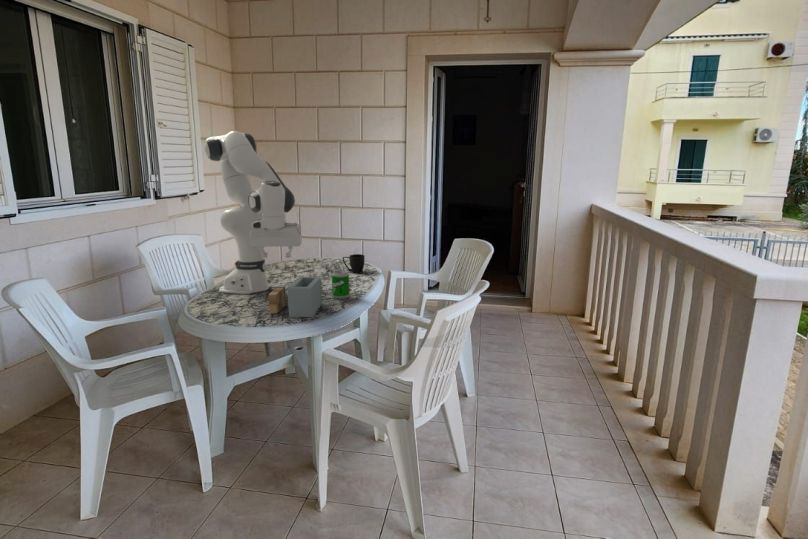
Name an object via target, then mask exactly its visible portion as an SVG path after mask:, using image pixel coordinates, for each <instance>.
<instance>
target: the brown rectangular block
mask: <svg viewBox="0 0 808 539" xmlns="http://www.w3.org/2000/svg"><path fill="white" fill-rule="evenodd" d="M286 298H287V296H286V287H285V286H276V288H274V289H273V290H272V291H271V292H270V293H269V294H268V309H269V314H270V313H278V312H279V311H280V310H283V308H285V307H286V306H287V299H286ZM280 312H281V311H280ZM280 312H279V313H280ZM279 313H278V314H279Z"/></svg>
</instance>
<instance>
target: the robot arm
mask: <svg viewBox="0 0 808 539" xmlns="http://www.w3.org/2000/svg"><path fill="white" fill-rule="evenodd" d="M256 143H257V142H256V141H255V138H254V136H252V135H251V134H250V133H244V132H241V131H237V130H232V131H230V132H227V133H226V134H223V135H221V134H220V135H217V136H210V137H208V138H206V139H205V141H204V152H205V155H206V156H207V158H208V159H209V160H211V161H213V162H220V170H221V171H220V173H221V176H222V181H223V184H224V187H225V189H226V193H227V196H228V198H229V199H230V200H231V201H232V202H234V203H237V204H238V205H239V206H240V207H233V208H229V209H227V210H224V211H223V212H222V213H221V215H220V224H221V227H222V228H223V230H225V231H226V232H228V233H229V234H230V235H231V236H232V237H233V238H234V240H235V243H236V245H237V253H238V260H236V262H235V263H234V266H235V268H234V269H233V270H232V271H230V272H229V274H227V275H226V276H225V278H224V280H223V285H222V286H220V287H219V289H218V291H219V293H227V294H240V295H249V294H253V293H260V292H264V291H266V290H268V289H270V286H269V282H268V279H267V278H268V277H267V275H266V266H267V264H266V261H265V260H266V258H269V257H268V256H269V255H268V252H265V250H264V249H265V247H266V248H269V247H288V252H286V253H285V257H286V258H291V256H292V251H293V250H294V247H300V246H301V245H302V242H303V240H302V235H301V234H302V226H301V224H299V223H297V222H287V219H286V218H287V217H286V213H289V212H290V211H291V210H292V209H293V208H294V206H295V203H296V200H295V195H294V194H293V192H292V191H291V190H290V189H289V188H288V187H287V186H286V185H285V183H284V182H283V180H282V179H281V177H280V176H279V175H278V173H277V172H276V171H275V169H274V168H273V167H272V166H271V164H270V163H269V162H267V161H266V160H265V159H263V158H261V157H260V155H258V153H256V152H257V144H256ZM249 176H250V177H251V176H252V177H255V178H259V179H261V180H264V181H262V182H261V184H260V187H258V188H257V189H254V190H253V187H252V184H251V182H250V179H249Z"/></svg>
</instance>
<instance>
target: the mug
mask: <svg viewBox="0 0 808 539" xmlns="http://www.w3.org/2000/svg"><path fill="white" fill-rule="evenodd" d="M345 258H346V259H349V266H350V267H349V266H348V265H347V264H346V261H345ZM342 262H343V264H344V265H345V267H346V268H347V270H348V271H349V272H350V273H352V272H353V273H352V274H355V273H359V274H362V273H363V271H364V267H365V262H366V261H365V255H364V254H361V253H359V254H357V253H355V254H350V255H349V256H343V257H342ZM361 272H362V273H361Z"/></svg>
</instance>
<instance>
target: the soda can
mask: <svg viewBox="0 0 808 539" xmlns="http://www.w3.org/2000/svg"><path fill="white" fill-rule="evenodd" d="M349 276H350V275H349V272H348V271H347V270H344V269H339V270H338V269H337V270H334V271H333V272H332V273H331V294H332V295H331V296H332V297H333V298H334V299H335V298H336V299H335V300H345V299H348V298H349V296H350V290H349V288H350V277H349Z"/></svg>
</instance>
